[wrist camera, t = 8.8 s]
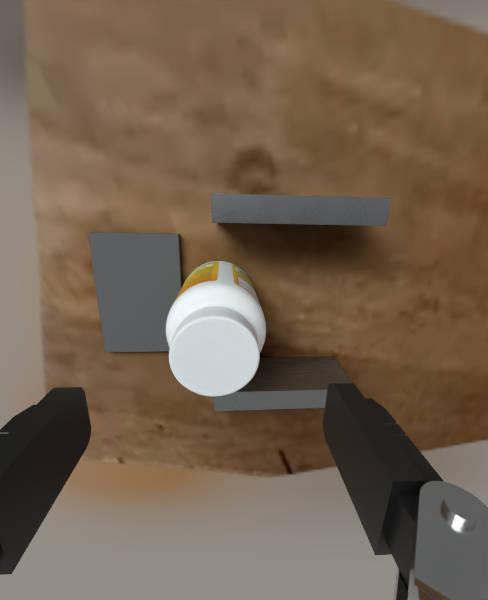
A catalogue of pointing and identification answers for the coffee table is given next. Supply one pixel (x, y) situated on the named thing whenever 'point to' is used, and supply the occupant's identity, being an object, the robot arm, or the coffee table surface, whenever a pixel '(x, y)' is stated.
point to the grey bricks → (292, 370)
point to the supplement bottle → (215, 330)
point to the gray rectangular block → (135, 287)
